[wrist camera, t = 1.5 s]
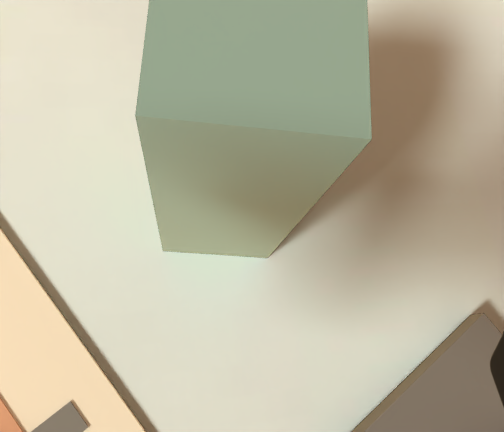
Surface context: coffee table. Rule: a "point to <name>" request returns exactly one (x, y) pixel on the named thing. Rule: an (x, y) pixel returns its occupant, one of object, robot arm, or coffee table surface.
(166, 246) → the tall brick
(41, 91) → the coffee table surface
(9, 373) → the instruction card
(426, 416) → the baseplate
